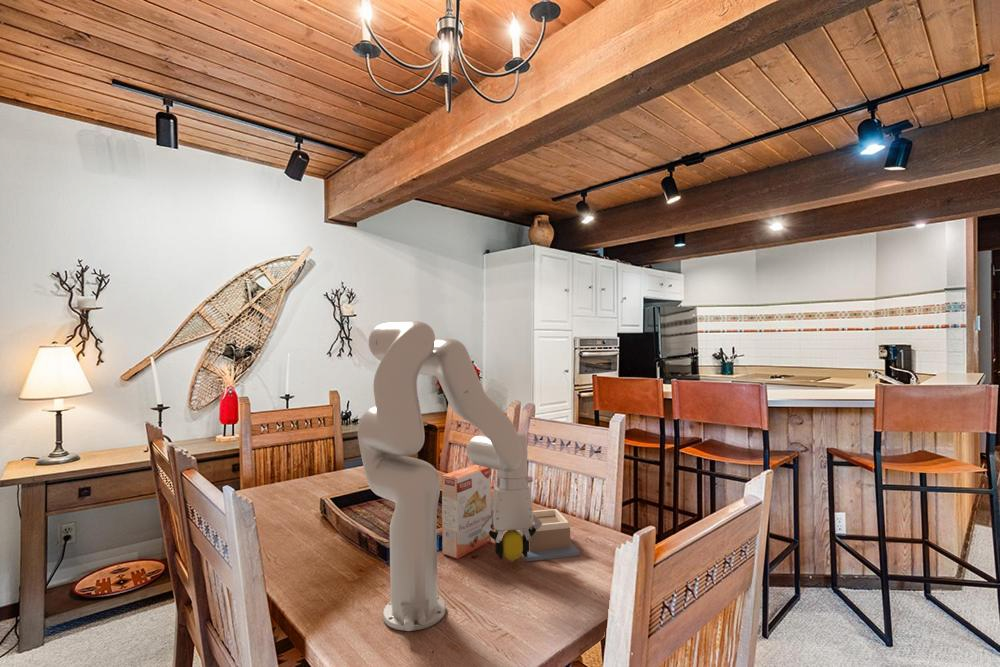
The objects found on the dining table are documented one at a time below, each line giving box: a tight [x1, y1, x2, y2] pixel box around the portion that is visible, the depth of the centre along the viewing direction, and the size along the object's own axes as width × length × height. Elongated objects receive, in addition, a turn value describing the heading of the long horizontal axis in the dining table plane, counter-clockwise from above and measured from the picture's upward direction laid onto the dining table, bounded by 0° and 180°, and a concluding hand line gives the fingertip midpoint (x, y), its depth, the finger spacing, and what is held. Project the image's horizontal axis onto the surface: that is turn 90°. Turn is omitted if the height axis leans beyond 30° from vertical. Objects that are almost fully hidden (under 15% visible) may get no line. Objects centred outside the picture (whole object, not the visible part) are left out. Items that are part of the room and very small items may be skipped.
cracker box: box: [441, 464, 492, 560], centre depth 133 cm, size 14×6×21 cm, turn 143°
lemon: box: [501, 530, 523, 563], centre depth 123 cm, size 6×6×8 cm
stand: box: [517, 508, 581, 562], centre depth 134 cm, size 17×14×8 cm
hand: (512, 555), depth 123 cm, fingers closed on lemon, 5 cm apart
